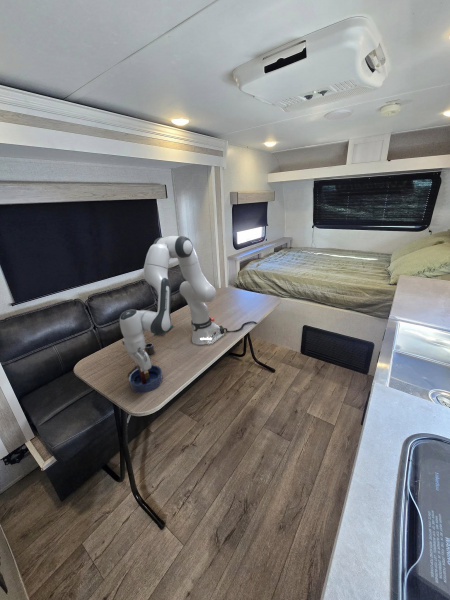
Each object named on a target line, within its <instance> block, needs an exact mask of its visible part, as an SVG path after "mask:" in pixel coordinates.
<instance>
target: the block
mask: <svg viewBox="0 0 450 600" xmlns="http://www.w3.org/2000/svg"><path fill="white" fill-rule="evenodd" d="M144 374H145V378H146V379H148V378H150V377H149V372H148V370H147V371H144Z"/></svg>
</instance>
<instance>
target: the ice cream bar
mask: <svg viewBox="0 0 450 600" xmlns="http://www.w3.org/2000/svg"><path fill="white" fill-rule="evenodd" d="M136 369H138V368H137V365H135V366H134V367H133V368H132V369H131V370H130V371H129V372H128V373H127V376H130V375H131V373H132V372H133V371H135V370H136Z"/></svg>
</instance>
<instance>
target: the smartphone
mask: <svg viewBox="0 0 450 600" xmlns="http://www.w3.org/2000/svg"><path fill="white" fill-rule="evenodd" d="M173 326H174V325H172V324H171V327H170V329H169V330H168V332H169V331H170V330H171V329H172V328H173ZM153 335H154V336H159V335H156V334H154V333H153ZM163 336H165V334H163V335H161V336H160V337H163Z"/></svg>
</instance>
